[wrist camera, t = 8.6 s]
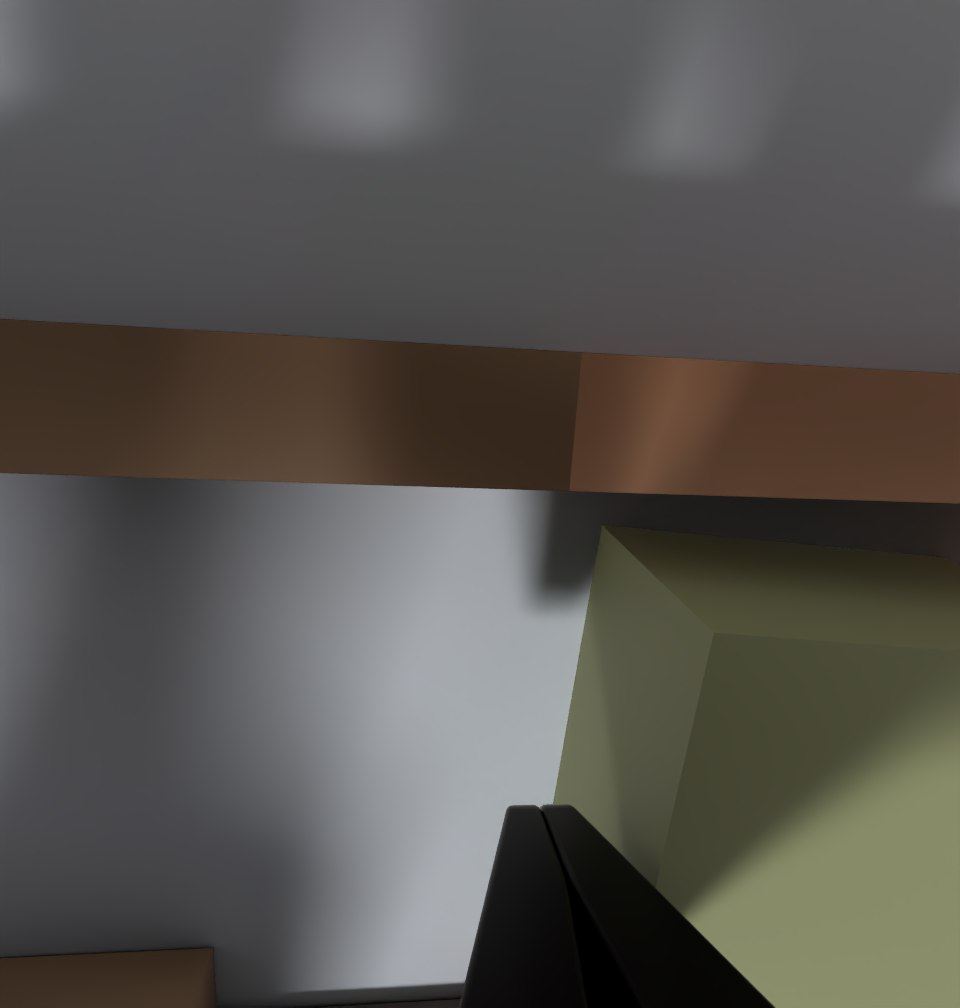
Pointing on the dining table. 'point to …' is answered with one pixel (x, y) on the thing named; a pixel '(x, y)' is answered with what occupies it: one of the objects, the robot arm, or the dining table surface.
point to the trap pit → (410, 1004)
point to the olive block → (781, 755)
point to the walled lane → (437, 461)
